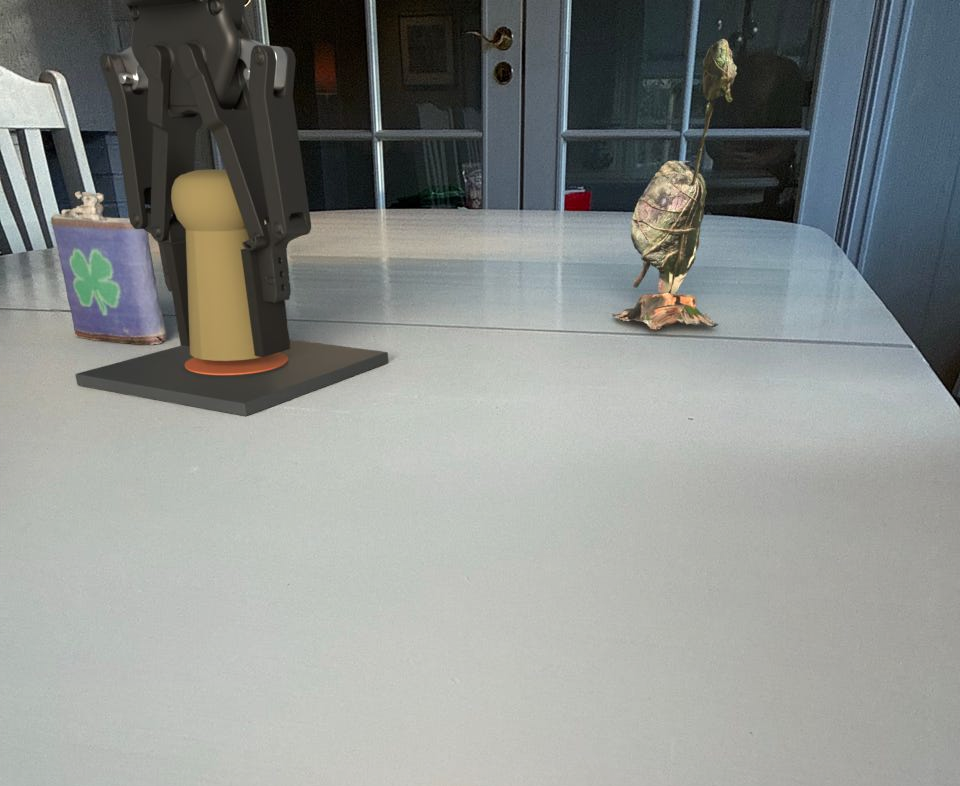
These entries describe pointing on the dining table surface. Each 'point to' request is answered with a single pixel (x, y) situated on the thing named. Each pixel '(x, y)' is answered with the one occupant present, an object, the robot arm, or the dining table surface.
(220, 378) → the placemat
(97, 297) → the flask
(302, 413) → the dining table surface
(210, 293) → the cork
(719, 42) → the plant with pod
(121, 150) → the robot arm
